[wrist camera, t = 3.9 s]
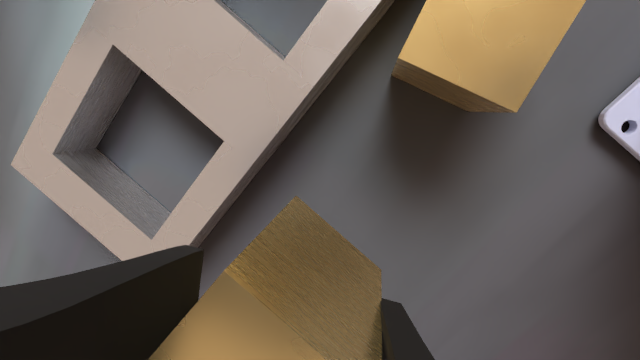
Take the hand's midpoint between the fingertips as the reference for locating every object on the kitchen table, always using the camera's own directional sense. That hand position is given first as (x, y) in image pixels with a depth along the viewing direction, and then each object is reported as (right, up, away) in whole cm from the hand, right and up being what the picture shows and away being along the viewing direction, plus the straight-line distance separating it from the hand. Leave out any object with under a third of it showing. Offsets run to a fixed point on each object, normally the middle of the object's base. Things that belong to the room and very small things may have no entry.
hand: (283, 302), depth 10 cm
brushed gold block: (0, 0, +1) cm, 1 cm away
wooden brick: (+7, +9, +4) cm, 12 cm away
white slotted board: (-3, +9, +5) cm, 11 cm away
